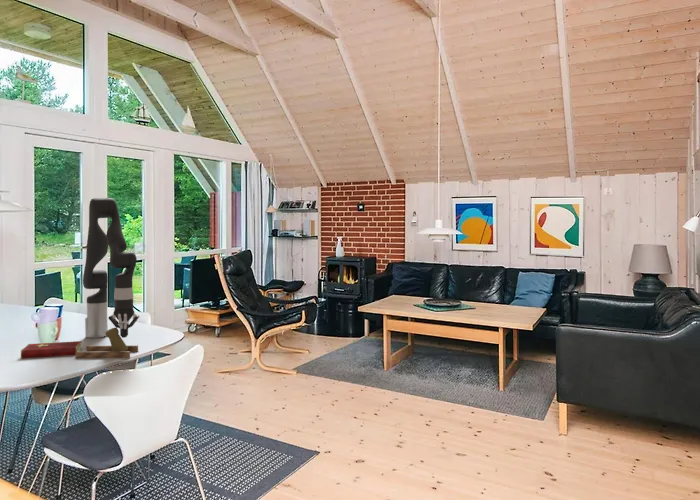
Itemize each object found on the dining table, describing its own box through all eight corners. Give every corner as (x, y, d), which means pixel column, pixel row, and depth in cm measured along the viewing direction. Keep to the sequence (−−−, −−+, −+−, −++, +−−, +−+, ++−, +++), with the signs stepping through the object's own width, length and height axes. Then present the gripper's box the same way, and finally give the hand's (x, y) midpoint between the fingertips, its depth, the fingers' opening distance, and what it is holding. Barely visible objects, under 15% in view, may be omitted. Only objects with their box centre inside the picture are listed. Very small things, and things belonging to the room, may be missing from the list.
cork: (117, 352, 224) (106, 329, 222) (130, 346, 224) (119, 324, 222) (112, 356, 218) (101, 333, 216) (125, 351, 218) (114, 328, 216)
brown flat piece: (75, 358, 214) (75, 352, 214) (87, 351, 225) (87, 345, 225) (129, 357, 215) (129, 351, 215) (138, 350, 227) (138, 345, 227)
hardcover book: (76, 356, 219) (76, 346, 218) (20, 359, 212) (20, 349, 212) (82, 349, 230) (82, 340, 230) (29, 352, 223) (28, 343, 223)
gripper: (104, 299, 215) (105, 339, 216) (136, 299, 217) (137, 339, 217) (111, 296, 223) (111, 335, 224) (142, 296, 224) (142, 335, 225)
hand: (124, 337), depth 221 cm, fingers closed
